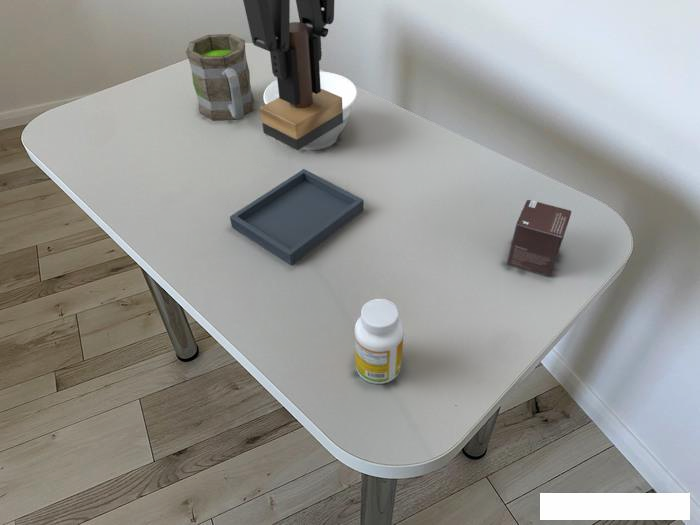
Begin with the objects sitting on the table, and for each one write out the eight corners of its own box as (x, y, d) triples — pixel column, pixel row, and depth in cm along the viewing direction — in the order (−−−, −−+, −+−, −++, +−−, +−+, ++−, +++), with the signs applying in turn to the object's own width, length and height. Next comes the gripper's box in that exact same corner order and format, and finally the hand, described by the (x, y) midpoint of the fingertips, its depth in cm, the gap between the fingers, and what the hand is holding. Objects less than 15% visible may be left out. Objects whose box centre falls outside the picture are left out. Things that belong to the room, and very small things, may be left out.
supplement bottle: (383, 340, 70) (386, 286, 63) (410, 371, 67) (415, 317, 60) (346, 360, 68) (344, 306, 61) (372, 393, 65) (373, 340, 58)
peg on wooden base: (298, 150, 68) (287, 47, 59) (263, 133, 70) (248, 32, 62) (343, 122, 72) (340, 22, 63) (308, 107, 75) (301, 9, 66)
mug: (192, 100, 113) (179, 40, 104) (245, 88, 116) (236, 29, 108) (214, 139, 103) (200, 76, 94) (271, 125, 106) (263, 63, 97)
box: (549, 278, 77) (562, 238, 72) (505, 264, 79) (515, 224, 74) (559, 250, 81) (572, 210, 76) (517, 238, 83) (527, 197, 78)
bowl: (301, 105, 111) (298, 63, 105) (374, 127, 105) (374, 83, 99) (250, 145, 101) (243, 101, 95) (327, 172, 95) (324, 126, 89)
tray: (291, 265, 80) (289, 254, 78) (231, 227, 86) (229, 216, 84) (363, 210, 88) (363, 199, 86) (304, 179, 94) (303, 168, 92)
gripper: (310, -163, 57) (323, 62, 74) (181, -135, 49) (228, 111, 66) (368, -155, 54) (367, 79, 70) (239, -124, 45) (273, 134, 62)
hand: (300, 94), depth 68 cm, fingers closed on peg on wooden base, 3 cm apart
